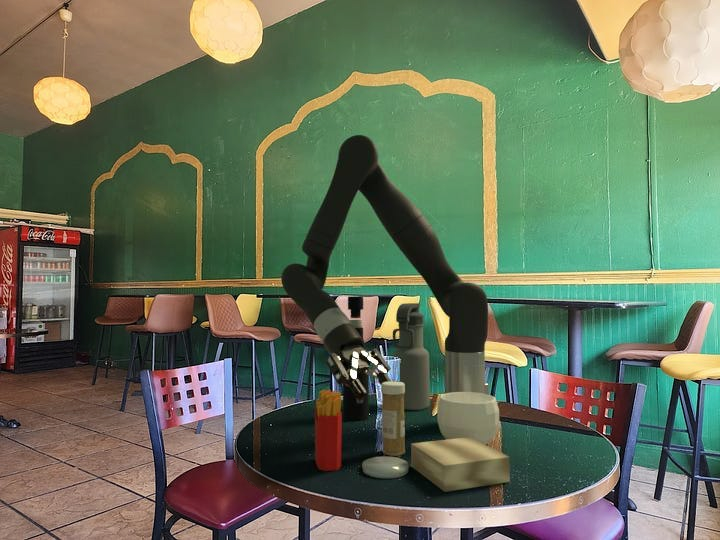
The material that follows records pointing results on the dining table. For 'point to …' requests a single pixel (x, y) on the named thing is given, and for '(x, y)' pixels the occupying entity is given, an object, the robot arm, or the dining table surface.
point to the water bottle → (412, 357)
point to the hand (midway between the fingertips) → (378, 394)
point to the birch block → (460, 463)
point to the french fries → (328, 430)
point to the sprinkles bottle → (393, 418)
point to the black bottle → (351, 404)
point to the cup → (468, 416)
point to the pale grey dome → (385, 467)
